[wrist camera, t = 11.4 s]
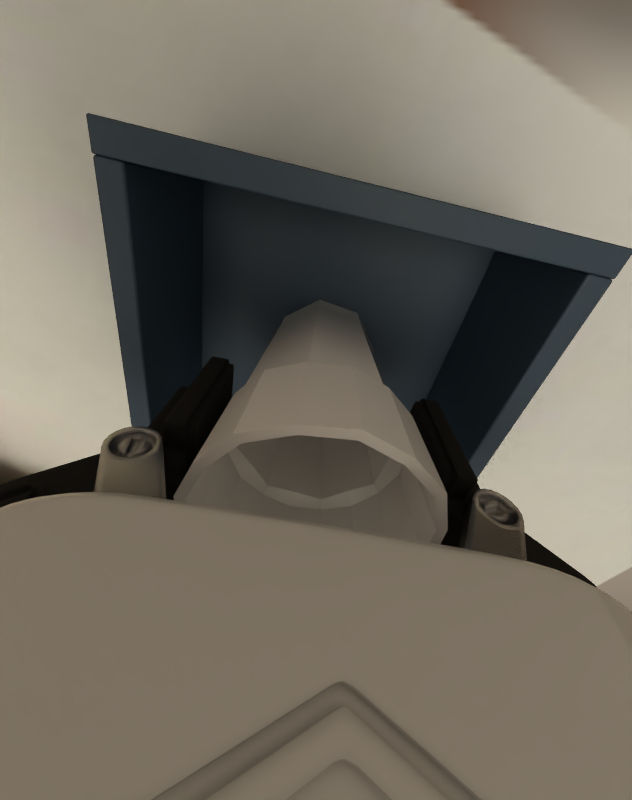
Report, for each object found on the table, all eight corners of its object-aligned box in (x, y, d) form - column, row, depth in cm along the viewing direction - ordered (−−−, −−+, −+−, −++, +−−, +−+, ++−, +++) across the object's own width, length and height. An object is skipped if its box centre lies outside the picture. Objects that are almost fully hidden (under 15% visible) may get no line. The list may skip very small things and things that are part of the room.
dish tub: (193, 149, 13) (85, 112, 8) (513, 228, 15) (636, 249, 9) (194, 419, 21) (142, 503, 15) (402, 458, 22) (427, 551, 16)
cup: (382, 398, 19) (430, 598, 9) (271, 402, 19) (213, 595, 10) (388, 281, 15) (475, 419, 6) (251, 289, 16) (131, 428, 6)
